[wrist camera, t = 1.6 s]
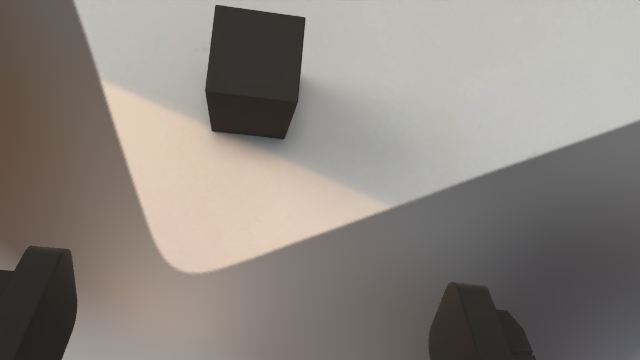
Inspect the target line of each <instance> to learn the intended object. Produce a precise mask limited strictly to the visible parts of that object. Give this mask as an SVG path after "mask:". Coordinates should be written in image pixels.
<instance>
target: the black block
mask: <svg viewBox="0 0 640 360" xmlns="http://www.w3.org/2000/svg"><path fill="white" fill-rule="evenodd" d="M304 29H305V17H299V16H292V15H284V14H277V13H270V12H263V11H256V10H249V9H241V8H234V7H227V6H220V5H216V6H215V13H214V22H213V30H212V38H211V47H210V55H209V64H208V72H207V80H206V89H205V92H206V98H207V104H208V110H209V116H210V122H211V129H212V131H218V132H227V133H236V134H244V135H253V136H262V137H271V138H280V139H284V138H285V135H286V133H287V130H288V127H289V125H290V122H291V119H292V116H293V114H294V111H295V108H296V105H297V103H298V94H299V83H300V73H301V62H302V51H303V40H304Z"/></svg>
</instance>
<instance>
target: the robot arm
mask: <svg viewBox="0 0 640 360" xmlns="http://www.w3.org/2000/svg"><path fill="white" fill-rule="evenodd" d="M76 313H77V295H76V286H75V278H74V270H73V262H72V255H71V251H70V250H69V249H61V248H49V247H37V246H30V247H28V248H27V249H26V251H25V252H24V254H23V256H22V258H21V260H20V261H19V263H18V265H17V267H16V269H15V271H7V270H0V360H61V359H62V357H63V354H64V352H65V349H66V346H67V344H68V341H69V339H70V336H71V333H72V331H73V327H74V324H75V319H76ZM429 354H430V359H431V360H536V359H535V356H534V355H532V349H531V346H530V344H529V342H528V339H527V337H526V334H525V332H524V330H523V328H522V327H521V326H520V325H519V324H518V323H517V321H516V320H515V319H514V318H513V317H512V316H511V315H510V313H509V312H508V311H507V310H496V309H495V306H494V303H493V301H492V298H491V295H490V293H489V290H488V288H487V287H486V286H485V285H482V284H470V283H458V282H450V283H449V284H448V285H447V287H446V290H445V292H444V295H443V297H442V300H441V302H440V305H439V307H438V310H437V312H436V315H435V317H434V320H433V323H432V325H431V328H430V333H429Z"/></svg>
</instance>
